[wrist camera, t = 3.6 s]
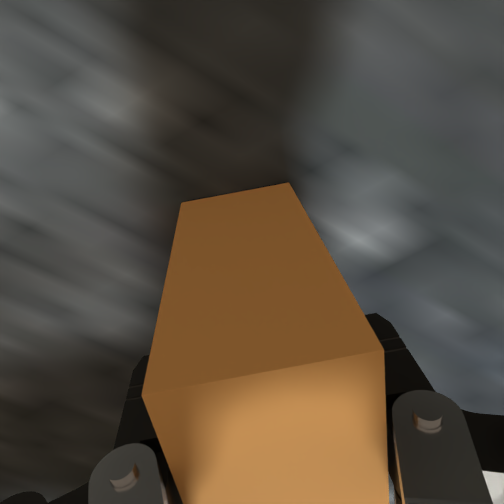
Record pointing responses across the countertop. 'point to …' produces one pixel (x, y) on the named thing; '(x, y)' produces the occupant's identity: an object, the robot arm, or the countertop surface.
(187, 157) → the countertop surface
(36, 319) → the countertop surface
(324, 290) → the tan wooden post
